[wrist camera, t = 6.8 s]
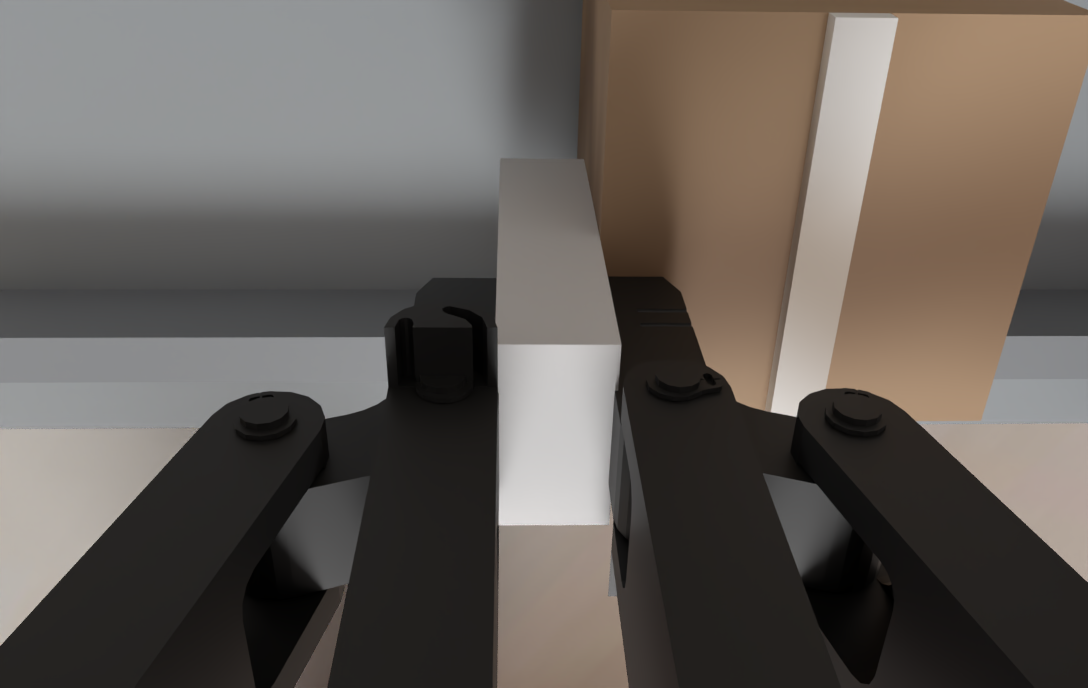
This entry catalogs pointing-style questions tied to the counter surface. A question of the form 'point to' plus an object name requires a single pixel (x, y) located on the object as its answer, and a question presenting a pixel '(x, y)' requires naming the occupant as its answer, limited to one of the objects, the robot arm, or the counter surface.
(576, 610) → the counter surface
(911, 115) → the taped cardboard box
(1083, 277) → the gauge bed
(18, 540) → the counter surface
